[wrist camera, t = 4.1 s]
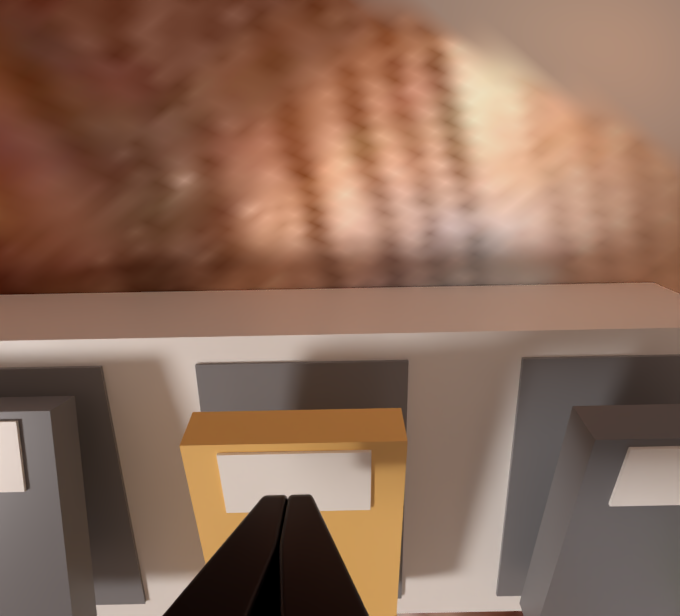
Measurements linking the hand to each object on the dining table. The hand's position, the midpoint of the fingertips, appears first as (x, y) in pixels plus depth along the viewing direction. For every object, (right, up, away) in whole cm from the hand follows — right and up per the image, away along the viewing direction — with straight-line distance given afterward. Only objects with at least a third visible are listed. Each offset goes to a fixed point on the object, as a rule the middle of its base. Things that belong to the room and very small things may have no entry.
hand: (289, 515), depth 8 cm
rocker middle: (0, -2, +3) cm, 4 cm away
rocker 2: (+8, -2, +3) cm, 9 cm away
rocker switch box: (0, 0, +9) cm, 9 cm away
